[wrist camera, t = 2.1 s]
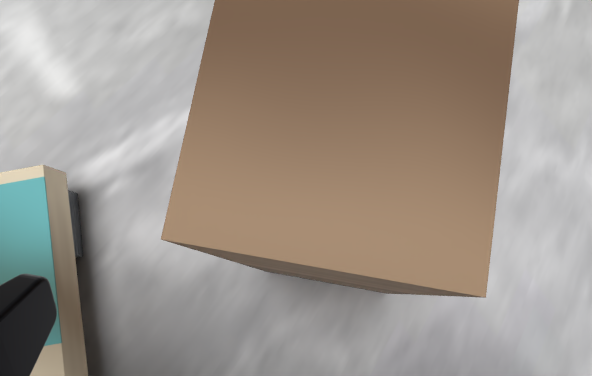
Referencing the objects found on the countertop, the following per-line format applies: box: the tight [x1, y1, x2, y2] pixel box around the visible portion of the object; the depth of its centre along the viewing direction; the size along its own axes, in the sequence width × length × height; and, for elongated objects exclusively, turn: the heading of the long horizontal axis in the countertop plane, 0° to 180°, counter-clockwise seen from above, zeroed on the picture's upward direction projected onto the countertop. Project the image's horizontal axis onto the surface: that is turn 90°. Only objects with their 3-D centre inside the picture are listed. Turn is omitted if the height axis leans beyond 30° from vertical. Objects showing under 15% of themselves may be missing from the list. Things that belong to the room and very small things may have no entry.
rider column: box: [161, 0, 519, 297], centre depth 13 cm, size 4×4×12 cm
